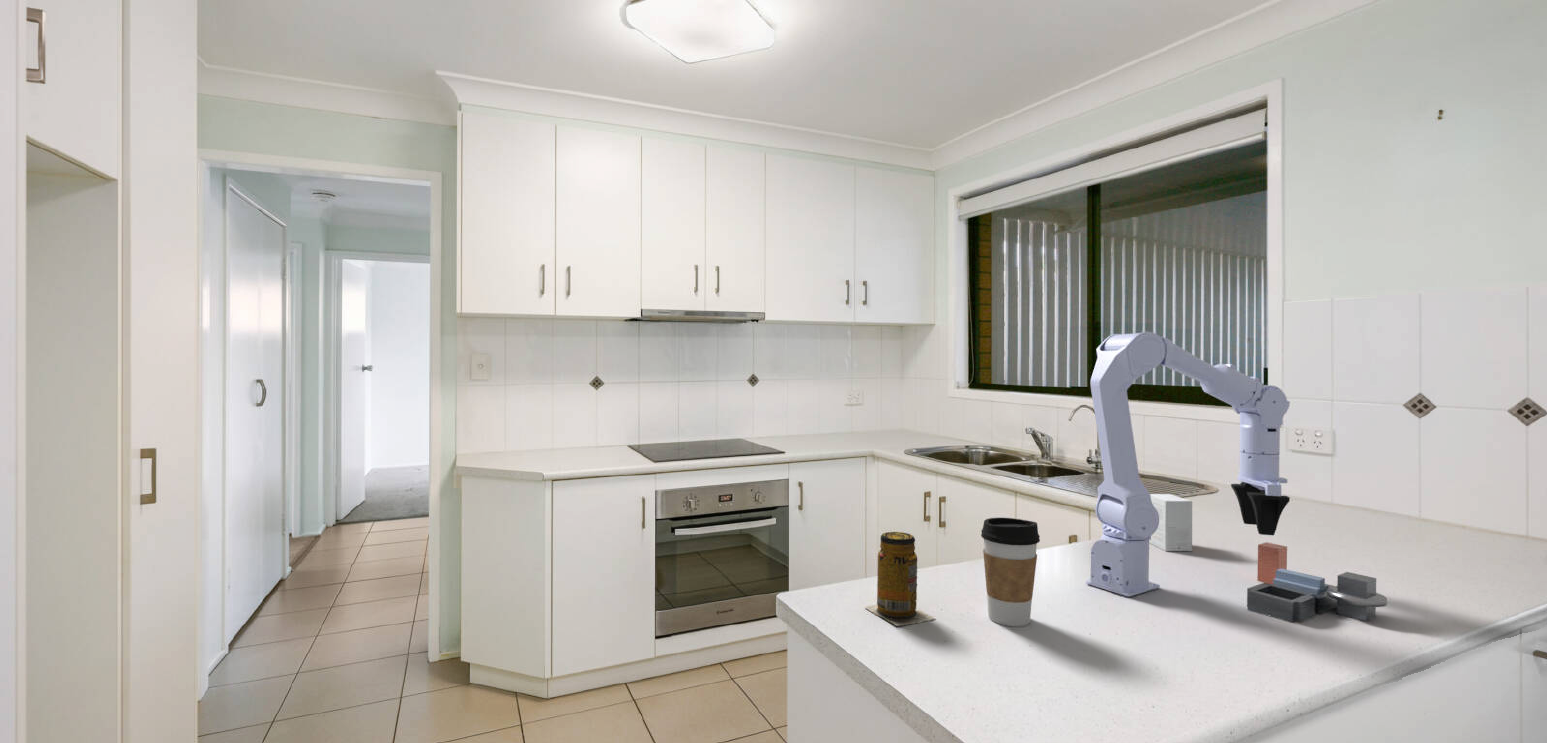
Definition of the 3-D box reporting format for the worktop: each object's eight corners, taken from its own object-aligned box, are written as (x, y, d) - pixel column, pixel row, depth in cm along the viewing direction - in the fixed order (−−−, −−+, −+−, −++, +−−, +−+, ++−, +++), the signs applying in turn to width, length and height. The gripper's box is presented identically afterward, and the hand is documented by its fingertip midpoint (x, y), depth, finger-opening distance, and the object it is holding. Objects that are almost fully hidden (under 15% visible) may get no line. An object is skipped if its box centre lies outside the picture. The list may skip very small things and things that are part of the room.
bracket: (1316, 609, 107) (1317, 581, 107) (1272, 598, 112) (1273, 571, 112) (1326, 604, 109) (1327, 577, 109) (1283, 593, 114) (1283, 567, 114)
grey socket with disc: (1352, 640, 95) (1353, 597, 95) (1238, 607, 107) (1239, 569, 107) (1397, 617, 103) (1398, 578, 103) (1286, 589, 116) (1287, 554, 116)
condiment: (901, 601, 109) (902, 528, 109) (936, 620, 101) (936, 541, 101) (864, 608, 106) (864, 532, 105) (896, 628, 98) (897, 546, 98)
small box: (1192, 552, 138) (1193, 501, 138) (1165, 551, 138) (1166, 501, 138) (1170, 541, 146) (1171, 493, 146) (1144, 541, 146) (1145, 493, 146)
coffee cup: (1010, 634, 96) (1011, 529, 96) (968, 614, 103) (969, 517, 103) (1051, 624, 100) (1052, 523, 100) (1007, 605, 107) (1008, 512, 107)
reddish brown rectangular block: (1278, 586, 117) (1278, 549, 117) (1257, 580, 120) (1258, 544, 120) (1286, 583, 119) (1287, 546, 119) (1265, 577, 122) (1266, 542, 122)
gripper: (1303, 459, 110) (1302, 541, 110) (1270, 448, 124) (1270, 521, 124) (1253, 457, 112) (1252, 538, 113) (1226, 446, 126) (1225, 518, 126)
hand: (1258, 529), depth 119 cm, fingers open, 7 cm apart
